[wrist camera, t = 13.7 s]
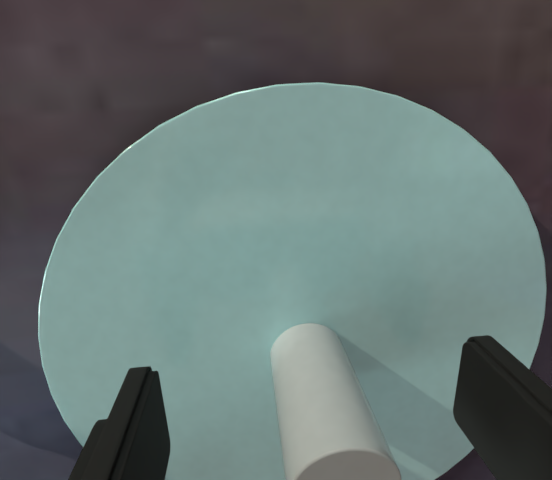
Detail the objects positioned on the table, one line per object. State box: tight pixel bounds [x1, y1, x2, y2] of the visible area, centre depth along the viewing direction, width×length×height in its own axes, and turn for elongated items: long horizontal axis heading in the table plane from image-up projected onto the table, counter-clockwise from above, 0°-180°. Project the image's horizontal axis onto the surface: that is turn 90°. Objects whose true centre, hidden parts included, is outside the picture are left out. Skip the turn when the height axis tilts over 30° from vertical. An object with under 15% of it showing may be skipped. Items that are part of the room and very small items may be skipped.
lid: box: [38, 82, 547, 480], centre depth 11 cm, size 18×18×6 cm
